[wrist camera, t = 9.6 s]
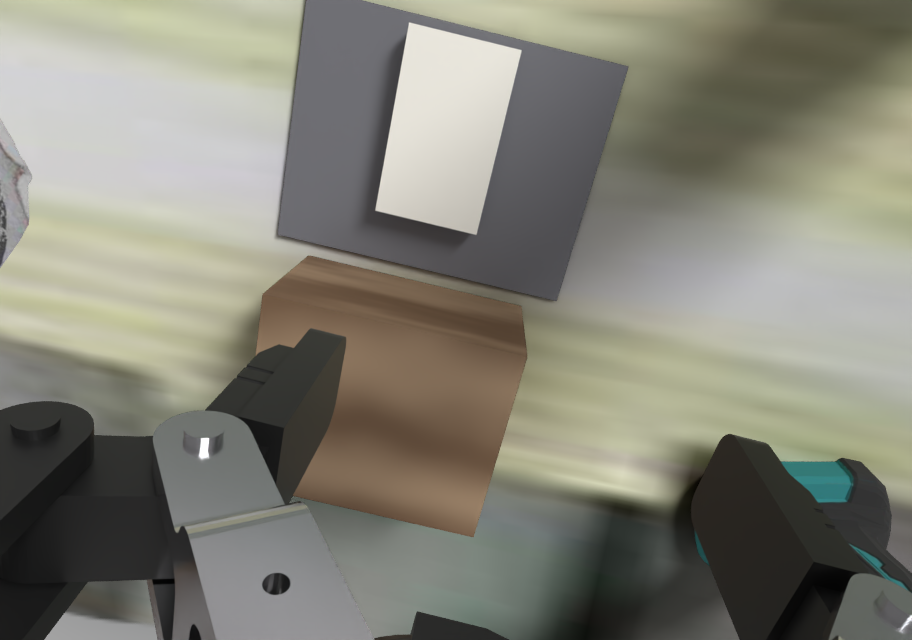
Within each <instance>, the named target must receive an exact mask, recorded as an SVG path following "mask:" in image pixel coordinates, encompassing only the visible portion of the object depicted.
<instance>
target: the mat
mask: <svg viewBox="0 0 912 640" xmlns="http://www.w3.org/2000/svg"><path fill="white" fill-rule="evenodd" d="M409 22H410V23H414V24H418V25H422V26H426V27H430V28H434V29H438V30H442V31H446V32H450V33H454V34H458V35H462V36H466V37H470V38H474V39H478V40H482V41H486V42H490V43H495V44H499V45H503V46H507V47H511V48H515V49H519V50H522V51H521V55H520V59H519V63H518V68H517V72H516V76H515V80H514V84H513V88H512V92H511V96H510V100H509V104H508V108H507V112H506V116H505V121H504V125H503V129H502V133H501V137H500V141H499V145H498V149H497V153H496V157H495V161H494V165H493V169H492V174H491V178H490V182H489V186H488V190H487V194H486V198H485V202H484V206H483V210H482V214H481V218H480V222H479V226H478V231H477V235H475V234H470V233H466V232H462V231H458V230H454V229H450V228H446V227H441V226H437V225H433V224H429V223H425V222H421V221H416V220H412V219H408V218H404V217H400V216H396V215H392V214H387V213H383V212H379V211H375V209H376V204H377V198H378V193H379V187H380V181H381V176H382V170H383V165H384V159H385V154H386V148H387V142H388V137H389V131H390V126H391V120H392V115H393V109H394V104H395V98H396V92H397V87H398V81H399V76H400V70H401V65H402V59H403V54H404V48H405V42H406V37H407V31H408V26H409ZM628 67H629V66H625V65H621V64H617V63H613V62H609V61H604V60H600V59H596V58H592V57H588V56H584V55H580V54H576V53H572V52H568V51H564V50H560V49H556V48H552V47H548V46H544V45H540V44H536V43H532V42H528V41H524V40H520V39H516V38H512V37H508V36H504V35H500V34H496V33H491V32H487V31H483V30H479V29H475V28H471V27H467V26H463V25H459V24H455V23H451V22H447V21H443V20H439V19H435V18H431V17H427V16H423V15H419V14H415V13H411V12H407V11H403V10H399V9H395V8H391V7H387V6H382V5H378V4H374V3H370V2H366V1H362V0H306V6H305V14H304V22H303V30H302V38H301V47H300V55H299V63H298V71H297V79H296V88H295V96H294V104H293V112H292V120H291V129H290V137H289V145H288V153H287V161H286V170H285V178H284V186H283V194H282V202H281V211H280V219H279V227H278V235H282V236H286V237H290V238H294V239H299V240H303V241H307V242H311V243H315V244H320V245H324V246H328V247H332V248H336V249H341V250H345V251H349V252H353V253H357V254H361V255H366V256H370V257H374V258H378V259H382V260H387V261H391V262H395V263H399V264H403V265H408V266H412V267H416V268H420V269H424V270H428V271H433V272H437V273H441V274H445V275H449V276H454V277H458V278H462V279H466V280H470V281H474V282H479V283H483V284H487V285H491V286H495V287H500V288H504V289H508V290H512V291H516V292H521V293H525V294H529V295H533V296H537V297H541V298H546V299H550V300H554V301H557V298H558V294H559V291H560V288H561V285H562V281H563V278H564V275H565V272H566V268H567V265H568V262H569V259H570V255H571V252H572V249H573V246H574V242H575V239H576V236H577V233H578V229H579V226H580V223H581V220H582V216H583V213H584V210H585V207H586V203H587V200H588V197H589V194H590V190H591V187H592V184H593V181H594V177H595V174H596V171H597V168H598V164H599V161H600V158H601V155H602V151H603V148H604V145H605V142H606V138H607V135H608V132H609V129H610V125H611V122H612V119H613V116H614V112H615V109H616V106H617V103H618V99H619V96H620V93H621V90H622V86H623V83H624V80H625V77H626V73H627V70H628Z"/></svg>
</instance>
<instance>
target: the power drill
mask: <svg viewBox="0 0 912 640" xmlns="http://www.w3.org/2000/svg"><path fill="white" fill-rule="evenodd" d="M781 463H782V464H783V466H784V467H785V469H786V470H787V471H788V473H789V474H790V475H791V476H793V477H794V478H795V479H796V480H797V481H798V482H800V483H801V484H802V485H803V486H804V487H805V488H806V489H808V490H809V491H810V492H811V494H812V495H813V496H814V498H815V499H816V500H817V502H818V503H819V505H820V506H821V507H822V509H823V510H824V512H823V514H827V516H828V517H829V518H830V520H831V521H832V522H833V524H834V525H835V530H838V531H839V532H840V533H841V535H842V536H843V538H844V539H845V540H846V542H847V543H848V544H849V546H850V547H851V549H852V550H853V551H854V553H855V554H856V555H857V557H858V558H859V560H860V561H861V562H862V564H863V565H864V566H865V568H866V569H867V571H868V572H869V573H870V574H872V575H875V576H879V577H882V578H884V579H887V580H889V581H891V582H893V583H895V584H897V585H899V586H901V587H903V588H904V589H906V590H908V591H909V592H911V593H912V573H911V572H910V571H908V570H907V569H906V568H905V567H904V566H903V565H902V564H901V563H900V562H898V561H897V560H896V559H895V558H894V557H893V556H892V555H891V554H890V553H889V552H888V551H887V550H886V548H887V544H888V540H889V536H890V531H891V517H892V515H891V511H890V505H889V499H888V495H887V492H886V488H885V486H884V485H883V484H882V483H881V482H880V481H879V480H878V479H877V478H876V477H875V476H874V475H873V474H872V473H871V472H870V471H869V470H868V469H867V468H866V467H865V466H864V465H863V464H862V462H859V461H854V460H850V459H845V458H841V459H839V460H838V461H837V462H781ZM695 540H696V545H697V551H698V553H699V555H700V556H701V558H702V559H703V561H704V562H706V563H707V564H708V565H709V563H708V561H707V558H706V556H705V553H704V551H703V548H702V546H701V544H700V541H699V539H698V536H697V534H696V531H695Z"/></svg>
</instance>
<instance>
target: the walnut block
mask: <svg viewBox="0 0 912 640" xmlns="http://www.w3.org/2000/svg"><path fill="white" fill-rule="evenodd" d="M310 328H313V329H317V330H321V331H325V332H329V333H333V334H337V335H341V336H345V337H346V349H345V355H344V360H343V366H342V371H341V377H340V382H339V388H338V394H337V399H336V404H335V409H334V412H333V416H332V419H331V422H330V425H329V427H328V430H327V432H326V434H325V436H324V438H323V439H322V441H321V443H320V445H319V447H318V449H317V451H316V453H315V455H314V456H313V458H312V460H311V462H310V464H309V466H308V468H307V470H306V472H305V474H304V475H303V477H302V479H301V481H300V483H299V485H298V487H297V489H296V491H295V492H294V494H293V496H296V497H300V498H305V499H309V500H313V501H318V502H322V503H326V504H331V505H335V506H340V507H344V508H348V509H353V510H357V511H361V512H366V513H370V514H374V515H379V516H383V517H387V518H392V519H396V520H400V521H405V522H409V523H413V524H418V525H422V526H427V527H431V528H435V529H440V530H444V531H448V532H453V533H457V534H461V535H466V536H470V537H474V533H475V530H476V527H477V523H478V520H479V517H480V513H481V510H482V507H483V503H484V500H485V497H486V493H487V490H488V487H489V483H490V480H491V477H492V473H493V470H494V467H495V463H496V460H497V457H498V453H499V450H500V447H501V443H502V440H503V437H504V433H505V430H506V427H507V423H508V420H509V416H510V413H511V410H512V406H513V403H514V400H515V396H516V393H517V390H518V386H519V383H520V380H521V376H522V373H523V370H524V366H525V363H526V360H527V349H526V341H525V333H524V324H523V316H522V307H521V306H518V305H514V304H510V303H506V302H502V301H498V300H493V299H489V298H485V297H481V296H477V295H472V294H468V293H464V292H460V291H456V290H451V289H447V288H443V287H439V286H435V285H430V284H426V283H422V282H418V281H414V280H409V279H405V278H401V277H397V276H393V275H388V274H384V273H380V272H376V271H372V270H367V269H363V268H359V267H355V266H351V265H347V264H342V263H338V262H334V261H330V260H326V259H321V258H317V257H313V256H307V257H306V258H305V259H304V260H303V261H301V262H300V263H299V264H298V265H297V266H295V267H294V268H293V269H292V270H291V271H290V272H288V273H287V274H286V275H285V276H284V277H282V278H281V279H280V280H279V281H278V282H277V283H275V284H274V285H273V286H272V287H271V288H269V289H268V290H267V291H266V292H265V293H263V296H262V304H261V313H260V321H259V330H258V338H257V347H256V355H257V354H258V353H259V352H261V351H264V350H266V349H269V348H271V347H273V346H276V345H278V344H280V345H284V346H288V347H292V348H294V347H295V346H296V345H297V344H298V342H299V341H300V340H301V339H302V337H303V336H304V335H305V334H306V332H307V331H308V330H309V329H310ZM256 355H255V356H256Z"/></svg>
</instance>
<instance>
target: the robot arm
mask: <svg viewBox="0 0 912 640" xmlns="http://www.w3.org/2000/svg"><path fill="white" fill-rule="evenodd" d="M345 349H346V337H345V336H341V335H337V334H333V333H329V332H325V331H321V330H317V329H313V328H310V329H309V330H308V331H307V332H306V334H305V335H304V336H303V337H302V339H301V340H300V341H299V342H298V344H297V345H296V346H295V347H294V348H292V347H288V346H284V345H280V344H278V345H276V346H273V347H271V348H269V349H266V350H264V351H261V352H259V353H258V354H257V355H256V356H255V357H254V358H253V359H252V360H251V361H250V363H249V364H248V365H247V367H246V368H244V369H243V370H242V371H241V372H240V373H239V374H238V375H237V378H235V379H234V380H233V381H232V382H231V383H230V384H229V385H228V386H227V387H226V388H225V389H224V390H223V392H222V393H221V394H220V395H219V396H218V397H217V398H216V399H215V400H214V401H213V402H212V403H211V404H210V405H209V407H208V408H207V409H206V410H205V411H192V412H186V413H182V414H179V415H176V416H173V417H171V418H169V419H167V420H166V421H164V422H163V423H162V424H160V425H159V426H158V428H157V429H156V430H155V432H154V435H153V436H146V437H131V436H102V435H94V422H93V418H92V417H91V415H90V414H89V413H88V412H87V411H85V410H84V409H82V408H80V407H78V406H75V405H72V404H68V403H62V402H52V401H41V402H30V403H24V404H19V405H15V406H11V407H8V408H5V409H2V410H0V640H44V639H45V638H46V636H47V635H48V634H49V632H50V631H51V630H52V628H53V627H54V626H55V625H56V623H57V622H58V621H59V619H60V618H61V617H62V615H63V614H64V613H65V611H66V610H67V609H68V607H69V606H70V605H71V603H72V602H73V601H74V599H75V598H76V597H77V595H78V594H79V593H80V591H81V590H82V589H83V587H84V586H85V585H86V584H87V582H91V581H120V580H147V584H148V590H149V595H150V601H151V606H152V612H153V617H154V623H155V628H156V634H157V639H158V640H509V639H507V638H505V637H502V636H500V635H498V634H496V633H494V632H492V631H490V630H488V629H486V628H482V627H478V626H474V625H470V624H466V623H462V622H458V621H454V620H450V619H446V618H442V617H438V616H434V615H429V614H425V613H421V612H417V613H416V616H415V620H414V623H413V627H412V630H411V634H410V635H392V636H384V637H378V638H374V637H373V635H372V633H371V631H370V629H369V627H368V625H367V623H366V621H365V619H364V617H363V615H362V613H361V611H360V609H359V607H358V605H357V603H356V601H355V599H354V597H353V595H352V593H351V591H350V589H349V587H348V585H347V583H346V581H345V579H344V577H343V575H342V573H341V571H340V570H339V568H338V566H337V564H336V562H335V560H334V558H333V556H332V554H331V552H330V550H329V548H328V546H327V544H326V542H325V540H324V538H323V536H322V534H321V532H320V530H319V528H318V526H317V524H316V522H315V520H314V518H313V516H312V514H311V512H310V510H309V508H308V507H307V506H306V504H304V503H303V502H301V501H299V502H294V503H289V502H290V500H291V498H292V496H293V494H294V492H295V491H296V489H297V487H298V485H299V483H300V481H301V479H302V477H303V475H304V474H305V472H306V470H307V468H308V466H309V464H310V462H311V460H312V458H313V456H314V455H315V453H316V451H317V449H318V447H319V445H320V443H321V441H322V439H323V438H324V436H325V434H326V432H327V430H328V427H329V425H330V422H331V419H332V416H333V412H334V409H335V404H336V399H337V394H338V388H339V382H340V377H341V371H342V366H343V360H344V355H345ZM823 512H824V510H823V509H822V507H821V506H820V505H819V503H818V502H817V500H816V499H815V498H814V496H813V495H812V494H811V492H810V491H809V490H808V489H806V488H805V487H804V486H803V485H802V484H801V483H800V482H798V481H797V480H796V479H795V478H794V477H793V476H791V475H790V474H789V473H788V471H787V470H786V469H785V467H784V466H783V464H782V463H781V461H780V460H779V459H778V457H777V456H776V454H775V453H774V452H773V450H772V449H771V447H770V446H769V445H768V444H766V443H764V442H760V441H756V440H752V439H748V438H744V437H740V436H736V435H732V434H728V435H725V436H724V437H723V438H722V439H721V440H720V442H719V444H718V445H717V448H716V450H715V452H714V454H713V456H712V458H711V460H710V462H709V464H708V466H707V468H706V470H705V472H704V474H703V476H702V479H701V481H700V483H699V485H698V487H697V489H696V491H695V493H694V496H693V499H692V505H691V519H692V524H693V526H694V529H695V531H696V534H697V536H698V539H699V541H700V544H701V546H702V548H703V551H704V553H705V556H706V558H707V561H708V563H709V566H710V568H711V570H712V573H713V575H714V578H715V580H716V583H717V585H718V588H719V590H720V593H721V595H722V597H723V600H724V602H725V605H726V607H727V610H728V612H729V615H730V617H731V619H732V622H733V624H734V627H735V629H736V632H737V634H738V637H739V639H740V640H912V593H911V592H909V591H908V590H906V589H904V588H903V587H901V586H899V585H897V584H895V583H893V582H891V581H889V580H887V579H884V578H882V577H879V576H875V575H872V574H870V573H869V572H868V571H867V569H866V568H865V566H864V565H863V564H862V562H861V561H860V560H859V558H858V557H857V555H856V554H855V553H854V551H853V550H852V549H851V547H850V546H849V544H848V543H847V542H846V540H845V539H844V538H843V536H842V535H841V533H840V532H839V531H838V530H835V525H834V524H833V522H832V521H831V520H830V518H829V517H828V516H827V514H823Z"/></svg>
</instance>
